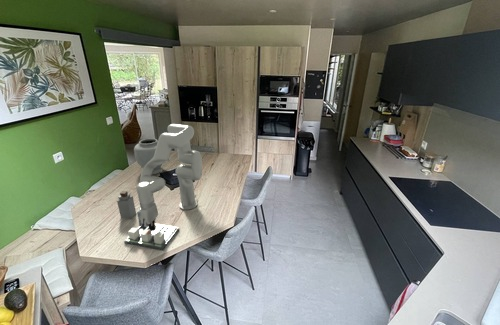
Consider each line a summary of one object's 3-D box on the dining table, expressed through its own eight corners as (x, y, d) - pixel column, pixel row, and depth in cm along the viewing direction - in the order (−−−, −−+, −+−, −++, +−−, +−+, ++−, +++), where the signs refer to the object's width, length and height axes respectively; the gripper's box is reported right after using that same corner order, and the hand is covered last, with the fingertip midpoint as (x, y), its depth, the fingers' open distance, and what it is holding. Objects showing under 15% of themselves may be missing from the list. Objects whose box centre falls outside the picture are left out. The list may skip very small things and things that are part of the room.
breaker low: (134, 234, 139) (132, 227, 137) (140, 235, 138) (138, 228, 136) (129, 238, 135) (127, 231, 133) (135, 240, 134) (134, 232, 132)
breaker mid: (146, 236, 137) (144, 229, 135) (152, 237, 136) (151, 230, 134) (141, 241, 133) (140, 233, 131) (148, 242, 133) (146, 234, 131)
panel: (144, 224, 151) (143, 220, 150) (179, 230, 146) (178, 226, 145) (124, 243, 134) (123, 239, 133) (163, 250, 130) (162, 246, 129)
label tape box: (150, 216, 159) (147, 200, 154) (154, 218, 157) (151, 202, 152) (138, 223, 152) (135, 206, 147) (143, 225, 150) (139, 208, 145)
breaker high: (158, 238, 135) (157, 231, 134) (165, 239, 135) (164, 232, 133) (154, 243, 132) (153, 236, 130) (161, 244, 131) (160, 237, 129)
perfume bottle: (126, 212, 162) (121, 189, 156) (136, 213, 162) (131, 189, 156) (121, 218, 156) (115, 194, 149) (131, 218, 156) (126, 194, 149)
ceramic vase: (171, 172, 224) (167, 142, 213) (141, 179, 210) (135, 147, 199) (163, 163, 244) (159, 135, 233) (135, 169, 230) (129, 139, 219)
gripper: (149, 195, 139) (154, 221, 147) (132, 210, 126) (139, 237, 133) (160, 197, 138) (165, 222, 145) (145, 212, 124) (151, 239, 132)
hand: (152, 229), depth 139 cm, fingers closed
